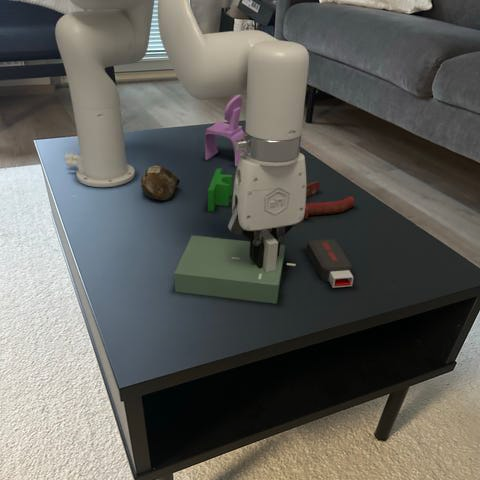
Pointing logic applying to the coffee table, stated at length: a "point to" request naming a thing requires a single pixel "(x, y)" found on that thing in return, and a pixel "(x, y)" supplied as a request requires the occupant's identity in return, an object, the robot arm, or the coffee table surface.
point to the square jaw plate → (269, 251)
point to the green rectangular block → (226, 271)
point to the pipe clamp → (219, 190)
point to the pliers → (325, 203)
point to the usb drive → (330, 262)
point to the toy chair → (226, 129)
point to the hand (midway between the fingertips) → (263, 261)
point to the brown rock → (159, 183)
